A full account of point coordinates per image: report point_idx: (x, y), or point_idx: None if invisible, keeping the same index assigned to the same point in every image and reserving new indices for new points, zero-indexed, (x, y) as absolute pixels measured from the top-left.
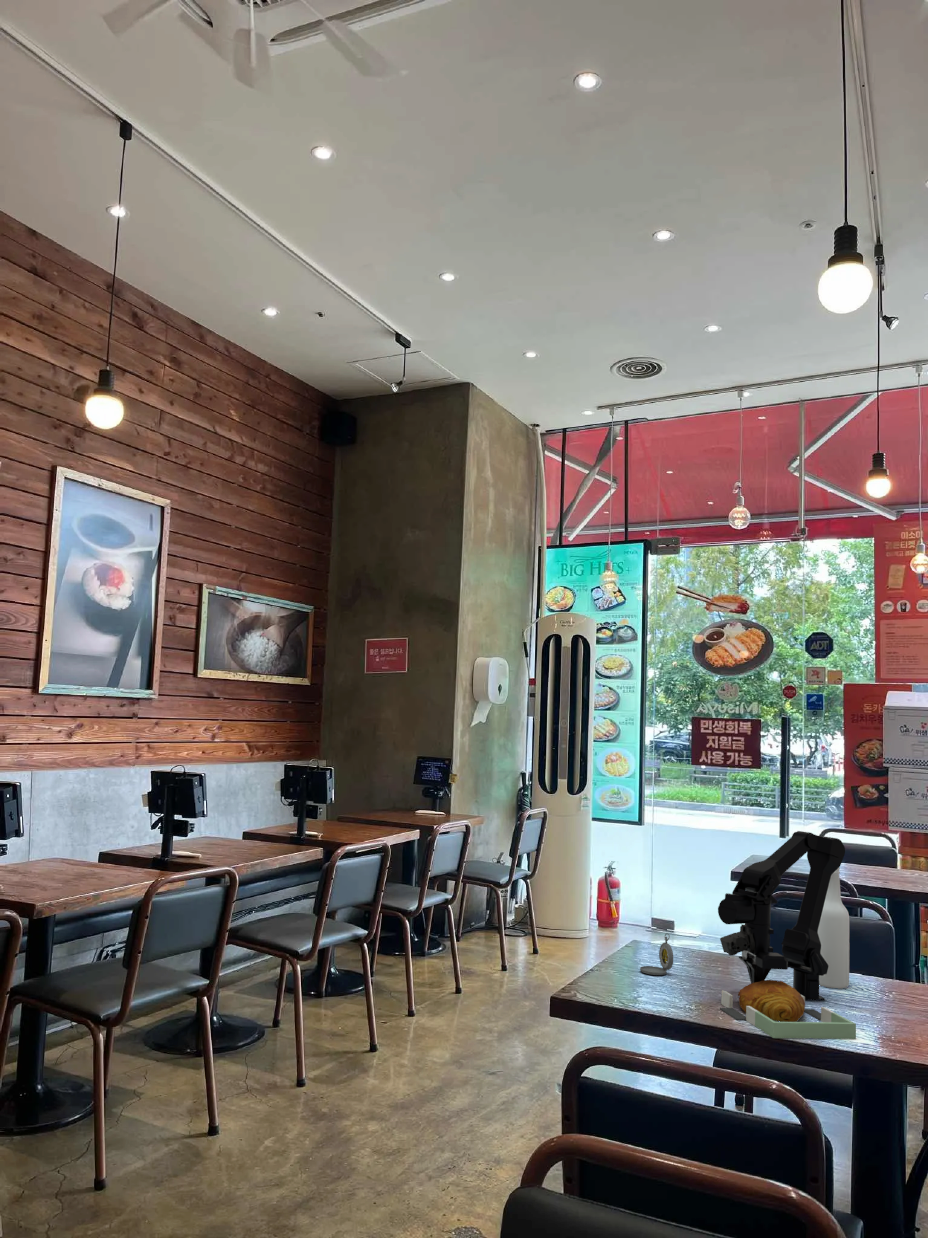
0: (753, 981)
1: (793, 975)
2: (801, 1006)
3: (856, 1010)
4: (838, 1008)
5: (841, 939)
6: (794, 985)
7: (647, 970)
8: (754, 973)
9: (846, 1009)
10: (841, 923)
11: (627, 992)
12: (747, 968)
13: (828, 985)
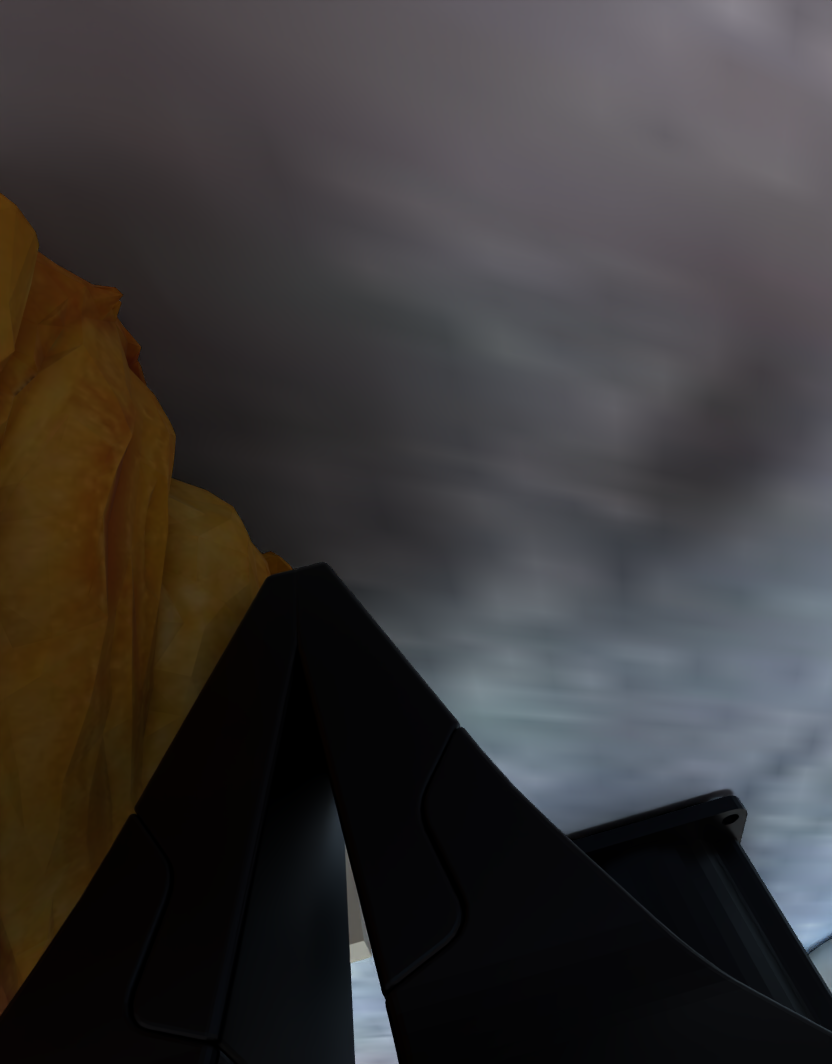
0: (219, 716)
1: (816, 983)
2: None
3: (354, 1041)
4: (370, 992)
5: None
6: (687, 918)
7: None
8: (13, 1004)
9: (359, 1015)
10: None
11: None
12: (574, 891)
13: (828, 962)
